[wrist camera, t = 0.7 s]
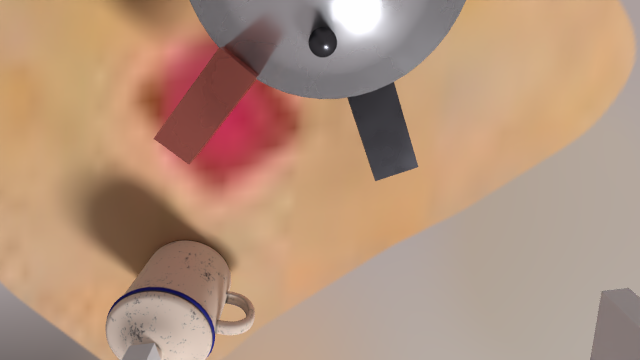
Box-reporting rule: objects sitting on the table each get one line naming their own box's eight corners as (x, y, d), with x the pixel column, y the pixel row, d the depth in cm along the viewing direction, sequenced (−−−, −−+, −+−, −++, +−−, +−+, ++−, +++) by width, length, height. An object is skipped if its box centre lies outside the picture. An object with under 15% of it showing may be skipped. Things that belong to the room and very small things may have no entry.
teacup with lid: (145, 304, 44) (88, 397, 33) (146, 230, 40) (83, 306, 30) (256, 319, 44) (236, 415, 34) (266, 247, 41) (247, 328, 30)
